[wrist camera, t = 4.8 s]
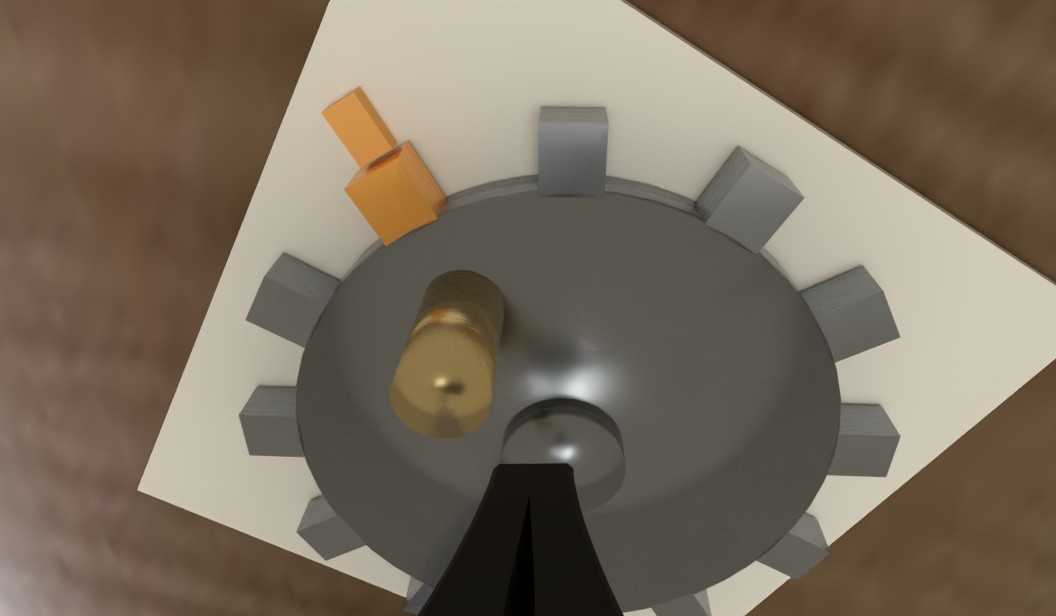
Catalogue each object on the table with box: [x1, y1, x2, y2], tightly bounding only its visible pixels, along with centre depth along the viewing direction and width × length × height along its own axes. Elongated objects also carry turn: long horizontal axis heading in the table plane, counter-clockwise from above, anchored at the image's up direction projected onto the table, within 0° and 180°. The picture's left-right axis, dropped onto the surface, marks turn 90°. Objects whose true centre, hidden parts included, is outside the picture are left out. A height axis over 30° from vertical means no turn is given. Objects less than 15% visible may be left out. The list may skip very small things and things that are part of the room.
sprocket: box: [239, 107, 901, 616], centre depth 20 cm, size 19×19×5 cm
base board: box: [137, 0, 1056, 616], centre depth 22 cm, size 22×22×2 cm
